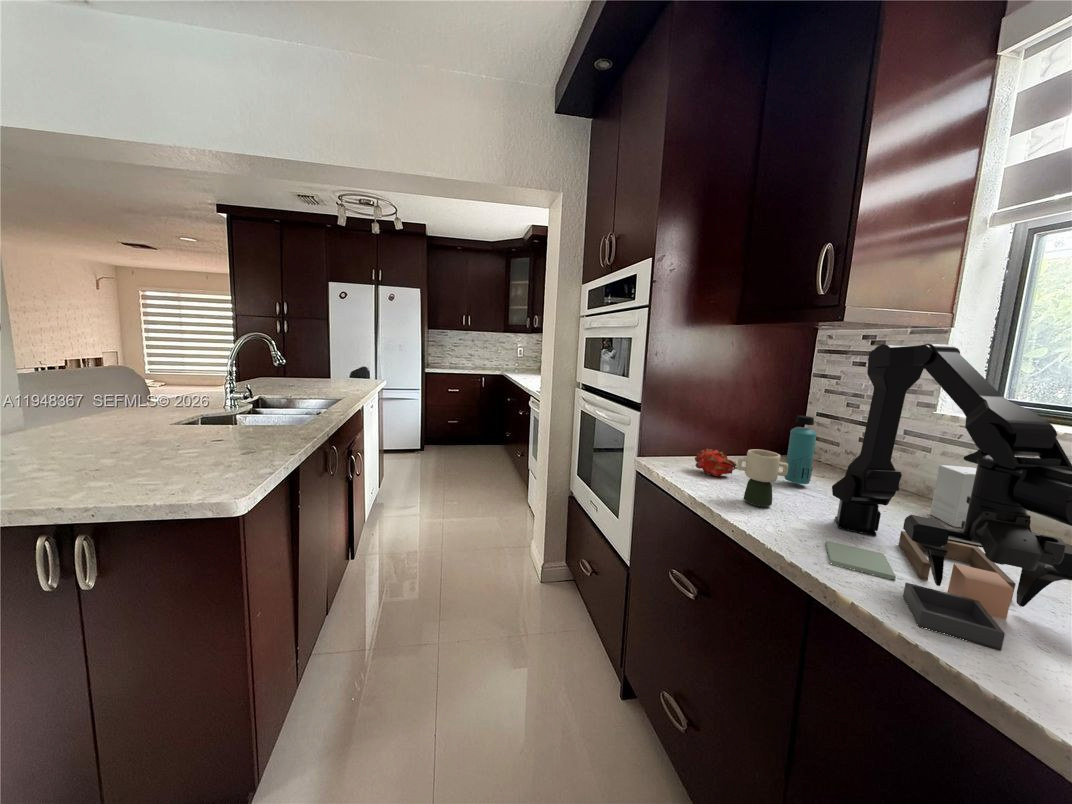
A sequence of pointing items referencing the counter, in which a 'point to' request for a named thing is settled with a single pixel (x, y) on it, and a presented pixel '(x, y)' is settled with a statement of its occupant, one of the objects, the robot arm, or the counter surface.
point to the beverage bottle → (801, 452)
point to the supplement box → (952, 493)
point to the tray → (953, 616)
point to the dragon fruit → (714, 463)
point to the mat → (859, 559)
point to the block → (982, 589)
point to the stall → (954, 551)
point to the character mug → (761, 475)
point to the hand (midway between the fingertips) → (977, 594)
